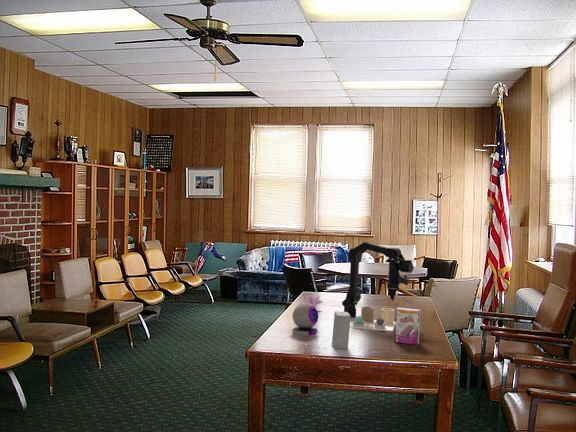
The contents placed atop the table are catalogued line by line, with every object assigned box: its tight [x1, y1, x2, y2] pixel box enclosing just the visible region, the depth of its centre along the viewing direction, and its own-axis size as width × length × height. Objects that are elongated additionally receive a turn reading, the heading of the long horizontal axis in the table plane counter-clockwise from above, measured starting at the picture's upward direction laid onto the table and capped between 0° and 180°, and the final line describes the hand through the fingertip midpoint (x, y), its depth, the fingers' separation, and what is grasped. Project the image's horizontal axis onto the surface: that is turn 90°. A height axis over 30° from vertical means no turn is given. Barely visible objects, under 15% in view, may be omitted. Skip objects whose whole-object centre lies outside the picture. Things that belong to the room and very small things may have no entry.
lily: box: [303, 294, 323, 309], centre depth 356 cm, size 12×12×10 cm
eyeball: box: [291, 302, 319, 337], centre depth 300 cm, size 13×13×15 cm
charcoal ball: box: [376, 317, 384, 325], centre depth 312 cm, size 4×4×4 cm
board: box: [352, 306, 396, 332], centre depth 321 cm, size 21×22×8 cm
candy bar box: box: [394, 307, 421, 346], centre depth 285 cm, size 11×5×16 cm, turn 71°
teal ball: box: [355, 315, 363, 324], centre depth 315 cm, size 4×4×4 cm
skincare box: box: [331, 311, 352, 350], centre depth 274 cm, size 8×7×16 cm
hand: (393, 299), depth 327 cm, fingers open, 9 cm apart
